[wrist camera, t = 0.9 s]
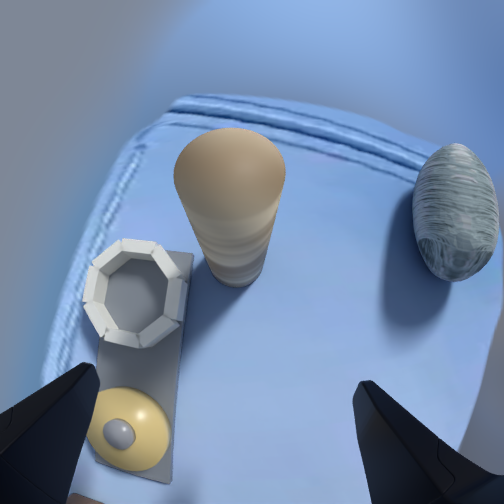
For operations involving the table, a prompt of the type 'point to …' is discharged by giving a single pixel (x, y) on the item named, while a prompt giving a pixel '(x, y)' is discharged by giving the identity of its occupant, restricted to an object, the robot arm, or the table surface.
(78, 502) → the wooden block
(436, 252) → the grey streaked oval stone
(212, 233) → the peg
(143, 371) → the board
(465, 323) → the table surface
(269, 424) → the table surface
